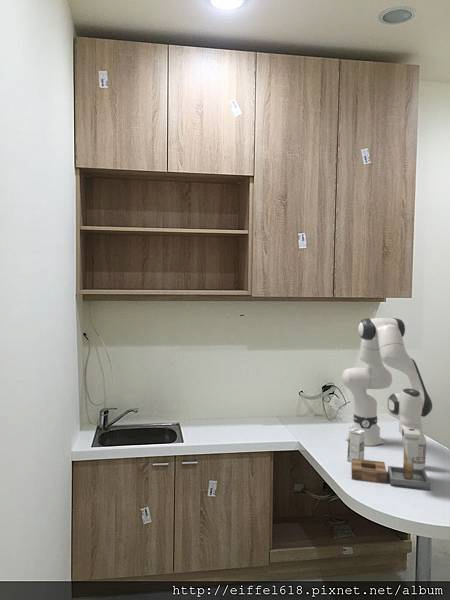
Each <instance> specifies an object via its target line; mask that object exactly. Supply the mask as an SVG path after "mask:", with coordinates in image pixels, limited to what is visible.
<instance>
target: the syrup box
mask: <svg viewBox="0 0 450 600" xmlns="http://www.w3.org/2000/svg"><path fill="white" fill-rule="evenodd" d="M348 435H349V438H348V442H347V456H346V457H347V459H346V460H347V462H350V463H352V459H361V460H365V459H364V457H365V431H364V430H361V429H356V428H354V429H352V430H350V429H349V431H348Z"/></svg>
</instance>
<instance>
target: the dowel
mask: <svg viewBox="0 0 450 600" xmlns="http://www.w3.org/2000/svg"><path fill="white" fill-rule="evenodd" d="M402 464H403V466H402V467H403V477H405V478H413V469H414V468H413V466H414V458H412V464H408V463H407V454H406V451H405V443H404V445H403V463H402Z"/></svg>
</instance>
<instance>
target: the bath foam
mask: <svg viewBox="0 0 450 600" xmlns="http://www.w3.org/2000/svg"><path fill="white" fill-rule="evenodd" d="M426 452H427V439H426V436H425V434H424V433H423V423H422V424H421V439H419V445H418V453H417V457H416V458H414V466H413V469H422V470H425V468H426V455H427V453H426Z"/></svg>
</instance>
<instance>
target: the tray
mask: <svg viewBox="0 0 450 600" xmlns="http://www.w3.org/2000/svg"><path fill="white" fill-rule="evenodd" d="M387 475H388V478H389V484H390V487H396V488H405V489H407V488H408V489H415V490H423V491H431V483H430V480H429V477H428V476H427V473H426V470H425V469H414V468H413V478H405V477H403V466H402V467H401V466H393V465H387Z"/></svg>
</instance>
